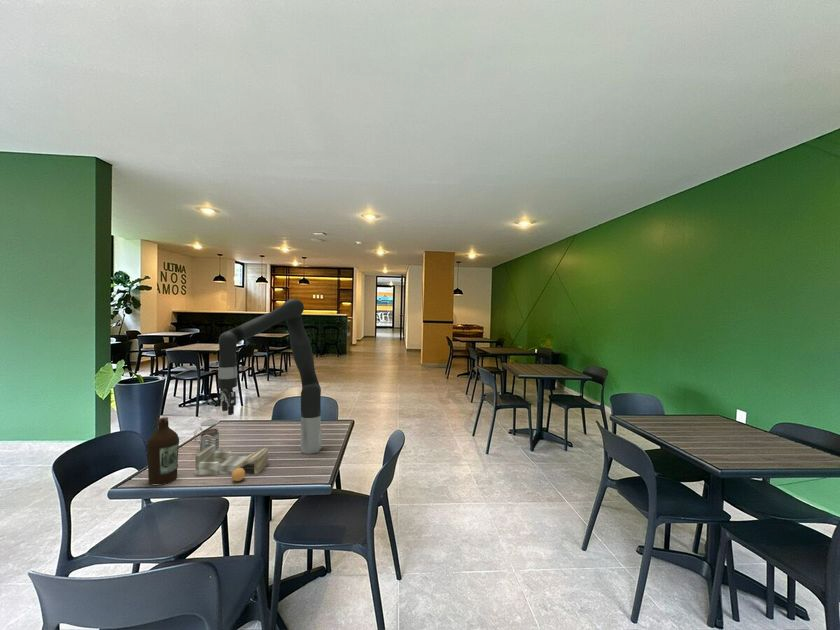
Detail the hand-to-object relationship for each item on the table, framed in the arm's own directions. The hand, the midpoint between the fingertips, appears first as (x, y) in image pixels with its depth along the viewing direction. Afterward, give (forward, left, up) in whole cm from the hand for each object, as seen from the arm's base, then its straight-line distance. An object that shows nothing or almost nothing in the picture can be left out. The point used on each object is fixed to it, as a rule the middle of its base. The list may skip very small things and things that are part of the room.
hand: (227, 412), depth 163 cm
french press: (+16, -13, -23) cm, 31 cm away
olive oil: (+17, +17, -23) cm, 33 cm away
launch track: (-5, +6, -23) cm, 24 cm away
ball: (-13, +17, -20) cm, 29 cm away
